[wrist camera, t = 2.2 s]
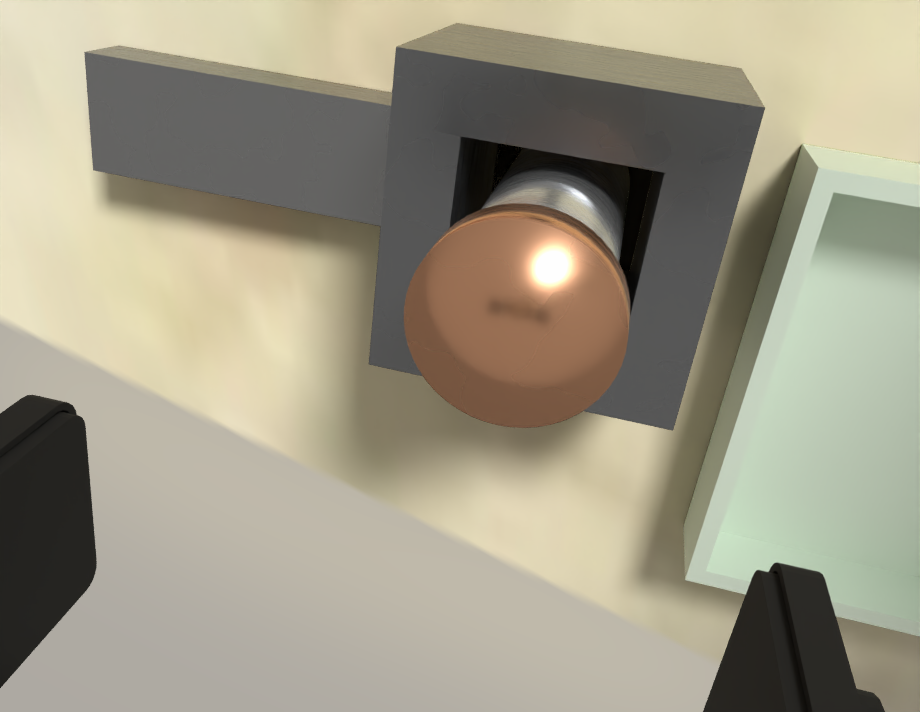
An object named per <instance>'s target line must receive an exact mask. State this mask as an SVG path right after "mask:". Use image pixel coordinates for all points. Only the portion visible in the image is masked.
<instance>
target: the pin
mask: <svg viewBox="0 0 920 712" xmlns="http://www.w3.org/2000/svg"><path fill="white" fill-rule="evenodd" d="M629 189H630V177H629V171H628V167H627V166H624V165H619V164H613V163H608V162H602V161H596V160H591V159H585V158H579V157H574V156H568V155H563V154H557V153H551V152H546V151H540V150H534V149H529V148H523V149H522V150H521V152H520V153H519V154H518V156H517V157H516V159H515V160H514V162H513V163H512V165H511V166H510V168H509V169H508V170H507V172H506V173H505V175H504V176H503V178H502V179H501V181H500V182H499V184H498V185H497V186H496V188H495V189H494V191H493V192H492V194H491V195H490V197H489V198H488V200H487V201H486V202H485V204H484V205H483V207H482V208H481V210H479V211H477V212H474V213H472V214H470V215H468V216H466V217H465V218H463V219H461V220H460V221H458V222H457V223H455V224H454V225H453V226H452V227H450V228H449V229H448V230H447V231H446V232H445V233H444V234H443V235H442V236H441V237H440V238H439V239H438V241H437V242H436V243H435V244H434V246H433V247H432V248H431V250H430V251H429V252H428V254H427V255H426V256H425V258H424V259H423V260H422V262H421V263H420V265H419V266H418V268H417V269H416V271H415V273H414V275H413V277H412V279H411V281H410V284H409V288H408V291H407V294H406V299H405V305H404V328H405V335H406V339H407V343H408V347H409V350H410V352H411V355H412V358H413V360H414V362H415V364H416V365H417V367H418V369H419V371H420V372H421V374H422V375H423V377H424V378H425V379H426V381H427V382H428V383H429V384H430V386H431V387H432V388H433V389H434V390H435V391H436V392H437V393H438V394H439V395H440V396H441V397H443V398H444V399H445V400H446V401H447V402H449V403H450V404H451V405H453V406H454V407H456V408H457V409H459V410H461V411H462V412H464V413H466V414H468V415H470V416H472V417H475V418H477V419H479V420H482V421H485V422H488V423H492V424H496V425H501V426H507V427H519V428H528V427H540V426H545V425H551V424H554V423H558V422H561V421H564V420H566V419H568V418H571V417H573V416H575V415H577V414H579V413H580V412H582V411H584V410H585V409H587V408H588V407H590V406H591V405H592V404H593V403H594V402H596V401H597V400H598V399H599V398H600V397H601V396H602V395H603V394H604V393H605V392H606V391H607V389H608V388H609V387H610V385H611V384H612V382H613V381H614V379H615V378H616V376H617V374H618V372H619V370H620V368H621V366H622V363H623V360H624V357H625V353H626V348H627V342H628V334H629V323H630V297H629V289H628V286H627V282H626V278H625V275H624V273H623V271H622V268H621V266H620V264H619V260H620V253H621V246H622V239H623V232H624V225H625V218H626V211H627V204H628V196H629Z"/></svg>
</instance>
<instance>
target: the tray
mask: <svg viewBox="0 0 920 712" xmlns="http://www.w3.org/2000/svg"><path fill="white" fill-rule="evenodd" d="M683 532H684V564H685V580H687V581H691V582H695V583H700V584H704V585H708V586H712V587H716V588H720V589H724V590H729V591H733V592H737V593H741V594H745V595H746V593H747V590H748V587H749V585H750V582H751V579H752V577H753V575H754V573H755V572H756V570H762V571H766V572H769V570H770V568H771V566H772V565H773V564H774V563H777V562H778V563H782V564H787V565H791V566H796V567H800V568H804V569H809V570H813V571H818V572H820V573H822V574H823V576H824V578H825V581H826V584H827V588H828V591H829V595H830V598H831V602H832V605H833V609H834V612H835V616H837V617H841V618H845V619H849V620H853V621H857V622H862V623H866V624H870V625H874V626H878V627H882V628H887V629H891V630H895V631H899V632H903V633H907V634H912V635H916V636H920V164H919V163H913V162H907V161H901V160H895V159H889V158H883V157H877V156H871V155H866V154H860V153H854V152H848V151H842V150H836V149H830V148H824V147H818V146H812V145H807V144H802V147H801V150H800V153H799V156H798V159H797V163H796V166H795V169H794V172H793V176H792V179H791V182H790V185H789V188H788V192H787V195H786V198H785V201H784V204H783V208H782V211H781V214H780V217H779V221H778V224H777V227H776V230H775V233H774V237H773V240H772V243H771V246H770V249H769V253H768V256H767V259H766V262H765V266H764V269H763V272H762V275H761V278H760V282H759V285H758V288H757V291H756V294H755V298H754V301H753V304H752V307H751V311H750V314H749V317H748V320H747V323H746V327H745V330H744V333H743V336H742V340H741V343H740V346H739V349H738V352H737V356H736V359H735V362H734V365H733V368H732V372H731V375H730V378H729V381H728V385H727V388H726V391H725V394H724V397H723V401H722V404H721V407H720V410H719V413H718V417H717V420H716V423H715V426H714V430H713V433H712V436H711V439H710V442H709V446H708V449H707V452H706V455H705V459H704V462H703V465H702V468H701V471H700V475H699V478H698V481H697V484H696V487H695V491H694V494H693V497H692V500H691V504H690V507H689V510H688V513H687V516H686V520H685V523H684V526H683Z"/></svg>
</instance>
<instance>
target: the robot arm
mask: <svg viewBox="0 0 920 712" xmlns="http://www.w3.org/2000/svg"><path fill="white" fill-rule="evenodd" d="M92 514H93V513H92V501H91V490H90V476H89V465H88V453H87V441H86V428H85V422H84V420H83V418H82V417H80V416H78V415H76V410H75V409H74V407H73V405H71V404H69V403H67V402H62V401H58V400H53V399H49V398H44V397H40V396H35V395H27V396H25V397H23V398H21V399H20V400H19V401H17V402H16V403H14V404H13V405H12V406H10V407H9V408H7V409H6V410H5V411H3V412H2V413H1V414H0V688H1V687H2V686H3V684H4V683H5V682H6V681H7V680H8V679H9V678H10V676H11V675H12V674H13V673H14V672H15V671H16V670H17V669H18V667H19V666H20V665H21V664H22V663H23V662H24V661H25V659H26V658H27V657H28V656H29V655H30V654H31V652H32V651H33V650H34V649H35V648H36V647H37V646H38V645H39V644H40V642H41V641H42V640H43V639H44V638H45V637H46V636H47V634H48V633H49V632H50V631H51V630H52V629H53V628H54V626H55V625H56V624H57V623H58V622H59V621H60V620H61V618H62V617H63V616H64V615H65V614H66V613H67V612H68V611H69V609H70V608H71V607H72V606H73V605H74V604H75V603H76V601H77V600H78V599H79V598H80V597H81V596H82V595H83V594H84V592H85V591H86V590H87V589H88V587H89V586H90V584H91V582H92V580H93V578H94V575H95V571H96V549H95V537H94V526H93V515H92ZM703 712H885V711H884V708H883V706H882V704H881V702H880V699H879V698H878V697H877V696H876V695H875V694H874V693H871V692H867V691H863V690H859V689H856V686H855V683H854V679H853V675H852V672H851V668H850V665H849V661H848V658H847V654H846V651H845V647H844V644H843V640H842V637H841V633H840V630H839V626H838V623H837V619H836V616H835V612H834V609H833V605H832V602H831V598H830V595H829V591H828V588H827V584H826V581H825V578H824V576H823V574H822V573H820V572H818V571H813V570H809V569H804V568H800V567H796V566H791V565H787V564H782V563H778V562H777V563H774V564H773V565H772V566H771V568H770V570H769V572H766V571H762V570H756V572H755V573H754V575H753V577H752V579H751V582H750V585H749V587H748V590H747V593H746V596H745V598H744V601H743V604H742V607H741V609H740V612H739V615H738V618H737V620H736V623H735V626H734V628H733V631H732V634H731V637H730V639H729V642H728V645H727V648H726V650H725V653H724V656H723V659H722V661H721V664H720V667H719V670H718V672H717V675H716V678H715V680H714V683H713V686H712V689H711V691H710V695H709V697H708V700H707V702H706V705H705V708H704V711H703Z"/></svg>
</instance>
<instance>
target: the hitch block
mask: <svg viewBox="0 0 920 712" xmlns="http://www.w3.org/2000/svg"><path fill="white" fill-rule="evenodd" d="M85 65H86V79H87V92H88V106H89V119H90V132H91V146H92V159H93V170H95V171H100V172H105V173H111V174H116V175H121V176H126V177H131V178H136V179H141V180H146V181H152V182H157V183H162V184H167V185H172V186H177V187H182V188H188V189H193V190H198V191H203V192H208V193H213V194H218V195H223V196H229V197H234V198H239V199H244V200H249V201H254V202H259V203H265V204H270V205H275V206H280V207H285V208H290V209H295V210H301V211H306V212H311V213H316V214H321V215H326V216H331V217H336V218H342V219H347V220H352V221H357V222H362V223H367V224H372V225H378V226H381V229H380V241H379V252H378V264H377V275H376V287H375V298H374V310H373V322H372V333H371V345H370V356H369V364H370V365H374V366H379V367H383V368H388V369H393V370H397V371H402V372H406V373H411V374H416V375H420V376H423V375H422V374H421V372H420V371H419V369H418V367H417V365H416V364H415V362H414V360H413V358H412V355H411V352H410V350H409V347H408V343H407V339H406V335H405V328H404V305H405V299H406V294H407V291H408V288H409V284H410V281H411V279H412V277H413V275H414V273H415V271H416V269H417V268H418V266H419V265H420V263H421V262H422V260H423V259H424V258H425V256H426V255H427V254H428V252H429V251H430V250H431V248H432V247H433V246H434V244H435V243H436V242H437V241H438V239H439V238H440V237H441V236H442V235H443V234H444V233H445V232H446V231H447V230H448V229H449V228H450V227H452V226H453V225H454V224H455V223H457V222H458V221H460V220H461V219H463V218H465V217H466V216H468V215H470V214H472V213H474V212H477V211H479V210H481V208H482V207H483V205H484V204H485V202H486V201H487V200H488V198H489V197H490V195H491V192H492V185H493V178H494V171H495V165H496V158H497V151H498V144H499V143H501V144H506V145H512V146H518V147H523V148H529V149H534V150H540V151H546V152H551V153H557V154H563V155H568V156H574V157H579V158H585V159H591V160H596V161H602V162H608V163H613V164H619V165H624V166H630V167H636V168H641V169H647V170H653V173H652V177H651V182H650V186H649V190H648V194H647V199H646V203H645V207H644V212H643V216H642V220H641V224H640V229H639V233H638V237H637V242H636V246H635V250H634V254H633V259H632V263H631V267H630V271H627V270H622V271H623V273H624V275H625V278H626V282H627V286H628V289H629V297H630V323H629V334H628V342H627V348H626V353H625V357H624V360H623V363H622V366H621V368H620V370H619V372H618V374H617V376H616V378H615V379H614V381H613V382H612V384H611V385H610V387H609V388H608V389H607V391H606V392H605V393H604V394H603V395H602V396H601V397H600V398H599V399H598V400H597V401H596V402H594V403H593V404H592V405H591V406H590V407H588V408H587V409H585V410H584V411H586V412H590V413H595V414H599V415H604V416H609V417H613V418H618V419H622V420H627V421H632V422H636V423H641V424H645V425H650V426H655V427H659V428H664V429H668V430H673V429H674V425H675V422H676V418H677V415H678V411H679V408H680V404H681V401H682V397H683V394H684V390H685V387H686V383H687V380H688V376H689V373H690V369H691V366H692V362H693V359H694V355H695V352H696V348H697V345H698V341H699V338H700V334H701V331H702V327H703V324H704V320H705V316H706V313H707V309H708V306H709V302H710V299H711V295H712V292H713V288H714V285H715V281H716V278H717V274H718V271H719V267H720V264H721V260H722V257H723V253H724V250H725V246H726V243H727V239H728V236H729V232H730V229H731V225H732V222H733V218H734V215H735V211H736V208H737V204H738V201H739V197H740V194H741V190H742V187H743V183H744V180H745V176H746V173H747V169H748V166H749V162H750V159H751V155H752V152H753V148H754V145H755V141H756V138H757V134H758V131H759V127H760V124H761V120H762V117H763V113H764V110H765V107H764V105H763V103H762V102H761V100H760V98H759V97H758V95H757V94H756V92H755V90H754V89H753V87H752V85H751V84H750V82H749V80H748V79H747V77H746V75H745V74H744V72H743V70H742V69H741V68H735V67H729V66H722V65H716V64H710V63H704V62H697V61H691V60H685V59H678V58H672V57H666V56H660V55H653V54H647V53H641V52H635V51H628V50H622V49H616V48H610V47H603V46H597V45H591V44H584V43H578V42H572V41H566V40H559V39H553V38H547V37H541V36H534V35H528V34H522V33H515V32H509V31H503V30H497V29H490V28H484V27H478V26H472V25H465V24H459V23H456V24H453V25H451V26H448V27H446V28H443V29H441V30H438V31H435V32H433V33H430V34H428V35H425V36H423V37H420V38H418V39H415V40H412V41H410V42H407V43H405V44H402V45H400V46H397V47H396V55H395V67H394V78H393V90H392V93H390V92H384V91H378V90H373V89H367V88H361V87H355V86H349V85H344V84H338V83H332V82H326V81H321V80H315V79H309V78H303V77H297V76H292V75H286V74H280V73H274V72H268V71H263V70H257V69H251V68H245V67H239V66H234V65H228V64H222V63H216V62H210V61H205V60H199V59H193V58H187V57H181V56H176V55H170V54H164V53H158V52H153V51H147V50H141V49H135V48H129V47H124V46H114V47H109V48H103V49H98V50H93V51H88V52H85Z"/></svg>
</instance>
